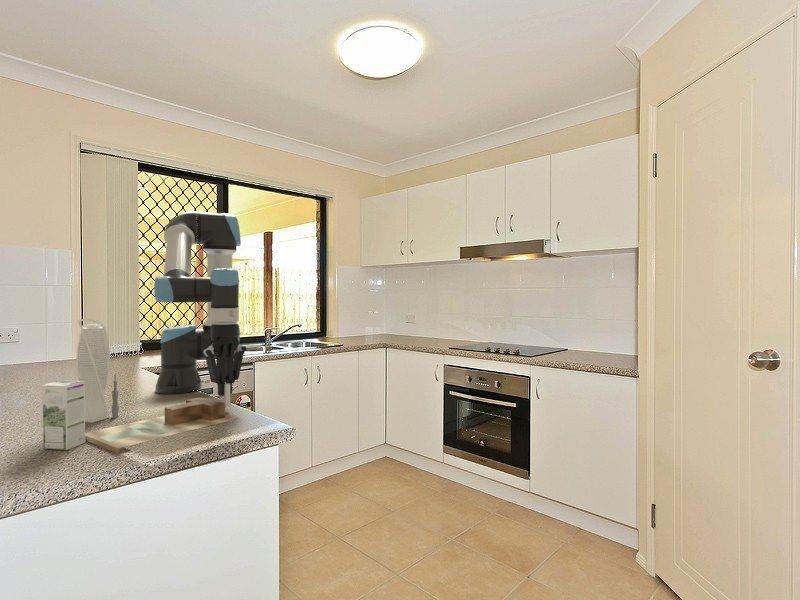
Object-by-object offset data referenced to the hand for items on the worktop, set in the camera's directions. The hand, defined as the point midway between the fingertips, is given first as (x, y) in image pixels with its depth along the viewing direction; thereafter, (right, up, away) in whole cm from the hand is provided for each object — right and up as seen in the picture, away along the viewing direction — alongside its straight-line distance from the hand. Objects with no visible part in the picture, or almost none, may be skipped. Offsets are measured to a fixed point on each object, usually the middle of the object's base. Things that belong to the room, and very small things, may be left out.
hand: (225, 406), depth 129 cm
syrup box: (-26, -3, -27) cm, 37 cm away
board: (-10, -3, -14) cm, 17 cm away
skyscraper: (-31, -3, -8) cm, 33 cm away
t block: (-6, -2, -8) cm, 10 cm away
